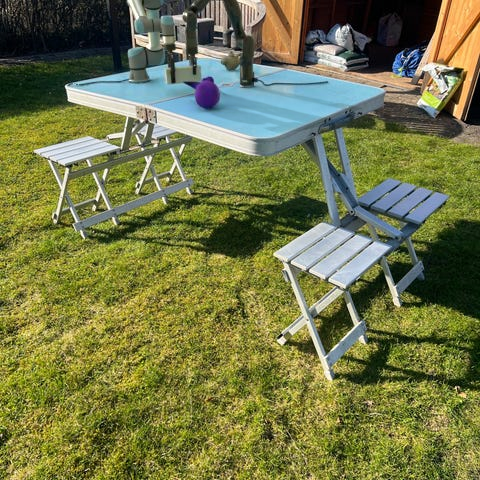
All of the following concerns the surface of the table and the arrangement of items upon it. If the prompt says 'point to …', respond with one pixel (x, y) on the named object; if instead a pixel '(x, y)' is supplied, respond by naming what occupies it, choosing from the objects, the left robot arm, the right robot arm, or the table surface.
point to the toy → (205, 92)
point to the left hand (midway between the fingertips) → (172, 82)
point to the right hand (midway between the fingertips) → (193, 73)
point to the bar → (183, 75)
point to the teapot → (231, 61)
